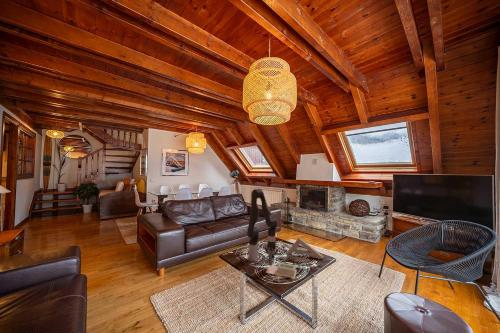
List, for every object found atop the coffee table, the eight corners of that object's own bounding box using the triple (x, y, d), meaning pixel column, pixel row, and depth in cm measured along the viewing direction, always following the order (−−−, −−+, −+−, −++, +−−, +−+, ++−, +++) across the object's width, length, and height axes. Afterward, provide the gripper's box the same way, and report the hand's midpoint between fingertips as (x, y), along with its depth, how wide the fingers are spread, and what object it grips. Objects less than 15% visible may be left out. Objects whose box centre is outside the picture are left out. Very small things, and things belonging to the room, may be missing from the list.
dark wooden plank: (271, 265, 178) (271, 250, 178) (268, 265, 179) (268, 250, 179) (274, 260, 187) (274, 246, 186) (271, 260, 188) (271, 246, 187)
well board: (265, 273, 178) (265, 266, 178) (269, 265, 191) (269, 259, 191) (294, 279, 168) (294, 272, 168) (296, 270, 182) (296, 264, 181)
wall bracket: (310, 272, 206) (286, 253, 214) (310, 270, 211) (287, 251, 218) (323, 258, 202) (298, 238, 209) (323, 256, 206) (299, 237, 214)
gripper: (263, 240, 181) (263, 258, 182) (278, 242, 176) (277, 261, 177) (265, 237, 188) (265, 254, 189) (279, 239, 183) (279, 257, 184)
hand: (271, 257), depth 183 cm, fingers closed on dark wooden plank, 3 cm apart
